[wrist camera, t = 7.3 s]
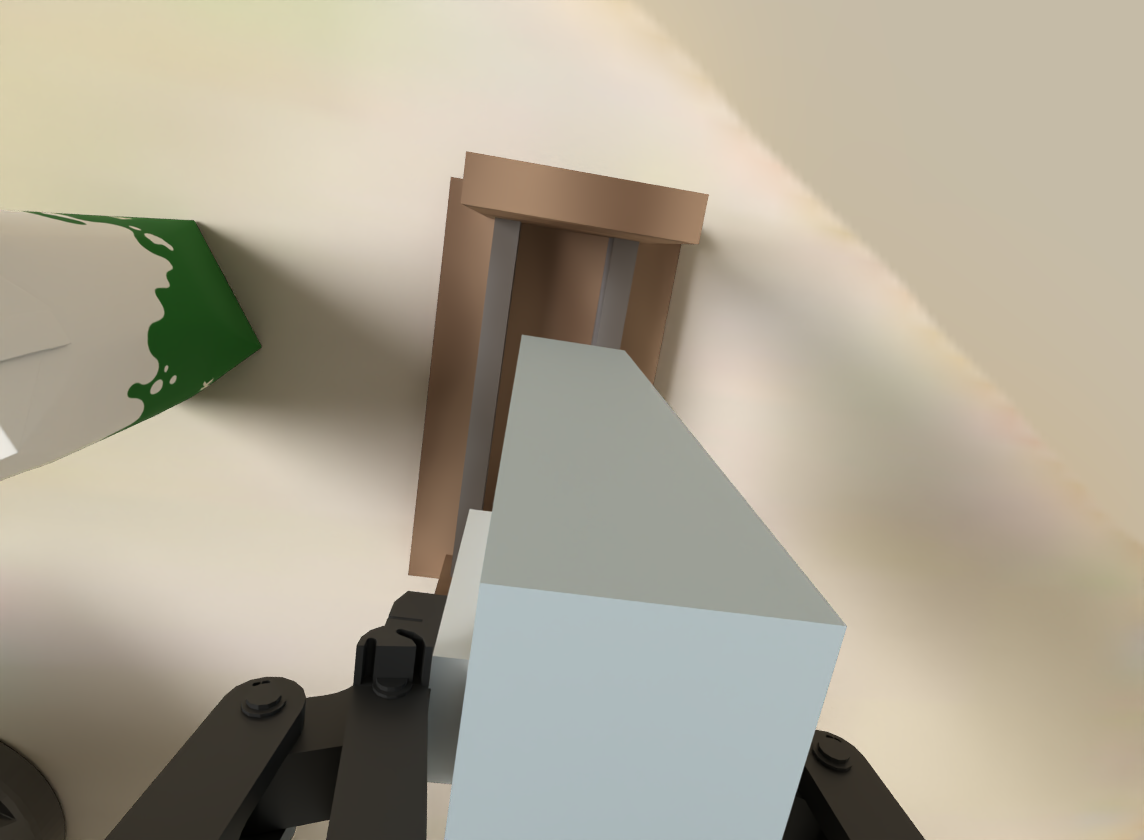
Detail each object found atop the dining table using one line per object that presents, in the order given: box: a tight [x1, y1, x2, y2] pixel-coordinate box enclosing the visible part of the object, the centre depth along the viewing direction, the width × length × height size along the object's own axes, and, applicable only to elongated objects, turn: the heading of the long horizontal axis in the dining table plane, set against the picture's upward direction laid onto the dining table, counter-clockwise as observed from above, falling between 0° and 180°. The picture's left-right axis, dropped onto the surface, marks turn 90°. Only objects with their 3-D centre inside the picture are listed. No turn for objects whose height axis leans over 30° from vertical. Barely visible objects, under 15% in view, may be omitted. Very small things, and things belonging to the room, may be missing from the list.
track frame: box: [408, 151, 709, 596], centre depth 30 cm, size 12×22×14 cm, turn 171°
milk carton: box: [0, 210, 262, 481], centre depth 25 cm, size 9×9×20 cm
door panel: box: [444, 335, 847, 840], centre depth 13 cm, size 3×12×14 cm, turn 171°
